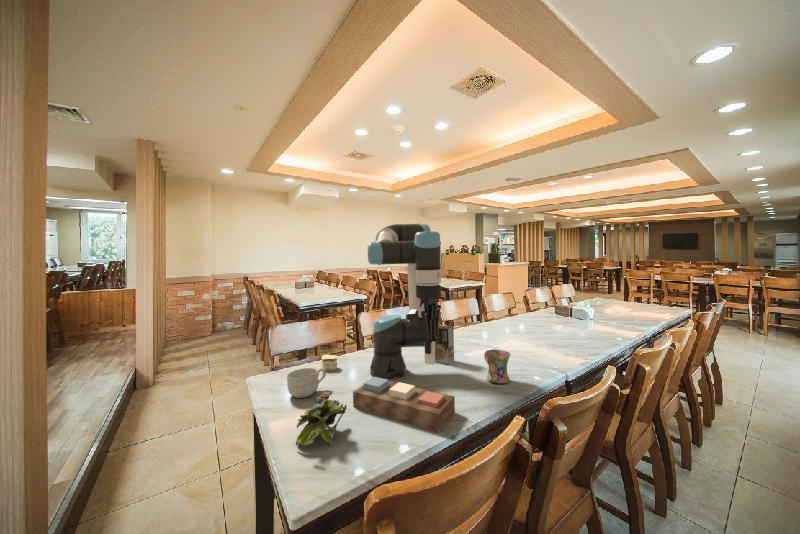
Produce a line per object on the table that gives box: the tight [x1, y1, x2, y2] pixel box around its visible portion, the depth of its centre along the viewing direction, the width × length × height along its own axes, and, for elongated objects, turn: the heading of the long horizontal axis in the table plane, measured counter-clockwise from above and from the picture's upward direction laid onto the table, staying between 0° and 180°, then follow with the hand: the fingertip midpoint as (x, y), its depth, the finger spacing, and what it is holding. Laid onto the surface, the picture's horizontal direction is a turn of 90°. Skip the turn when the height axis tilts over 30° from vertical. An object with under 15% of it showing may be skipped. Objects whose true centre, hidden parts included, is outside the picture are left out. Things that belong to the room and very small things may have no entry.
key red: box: [418, 390, 445, 408], centre depth 89 cm, size 6×6×4 cm
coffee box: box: [435, 324, 455, 365], centre depth 138 cm, size 9×6×16 cm
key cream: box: [389, 381, 416, 400], centre depth 94 cm, size 6×6×4 cm
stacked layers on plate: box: [321, 354, 338, 371], centre depth 132 cm, size 10×9×6 cm
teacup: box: [286, 367, 327, 399], centre depth 108 cm, size 14×11×8 cm
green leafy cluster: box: [295, 395, 348, 447], centre depth 80 cm, size 13×12×14 cm
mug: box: [483, 349, 511, 384], centre depth 116 cm, size 12×9×11 cm
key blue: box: [362, 376, 390, 393], centre depth 100 cm, size 6×6×4 cm
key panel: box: [352, 381, 456, 433], centre depth 94 cm, size 30×12×5 cm, turn 59°
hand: (430, 363), depth 89 cm, fingers closed
